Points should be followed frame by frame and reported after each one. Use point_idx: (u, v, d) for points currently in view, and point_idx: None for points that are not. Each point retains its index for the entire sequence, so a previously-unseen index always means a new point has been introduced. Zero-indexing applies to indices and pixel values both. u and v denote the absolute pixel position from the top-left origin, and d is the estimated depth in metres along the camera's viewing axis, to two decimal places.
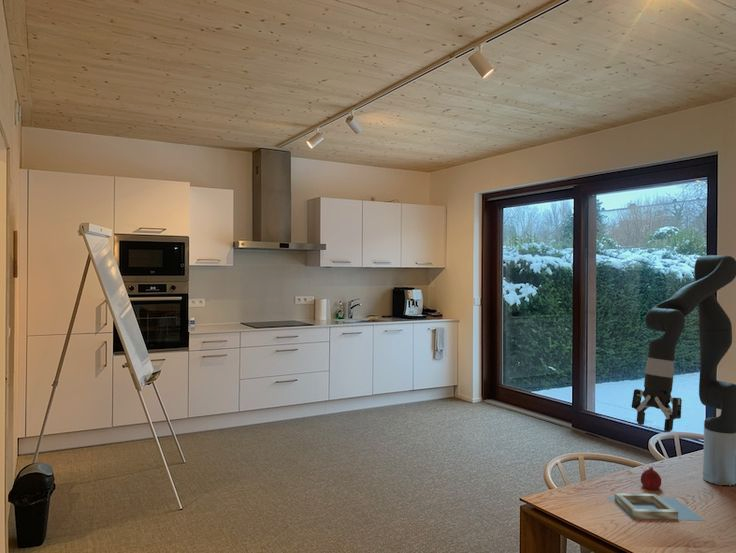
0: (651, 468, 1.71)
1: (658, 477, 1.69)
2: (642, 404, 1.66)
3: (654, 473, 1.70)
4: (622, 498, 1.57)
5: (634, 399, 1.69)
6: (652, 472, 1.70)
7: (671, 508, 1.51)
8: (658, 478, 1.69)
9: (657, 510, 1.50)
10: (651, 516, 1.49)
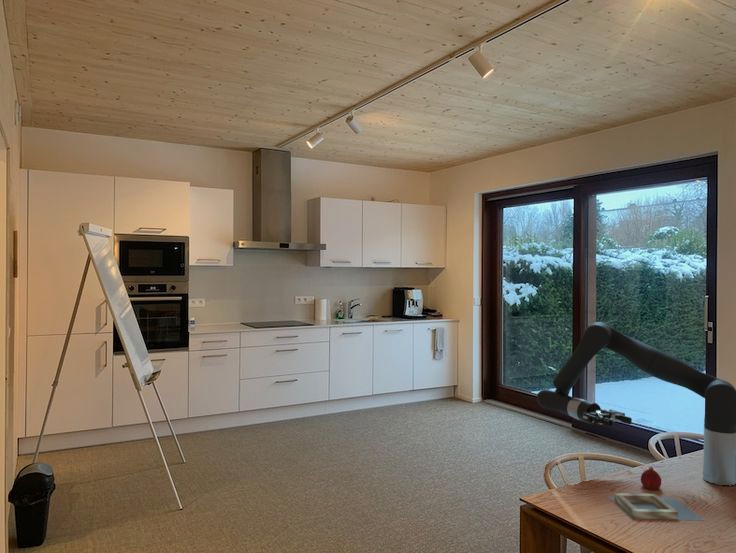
0: (651, 468, 1.71)
1: (658, 477, 1.69)
2: None
3: (654, 473, 1.70)
4: (622, 498, 1.57)
5: None
6: (652, 472, 1.70)
7: (671, 508, 1.51)
8: (658, 478, 1.69)
9: (657, 510, 1.50)
10: (651, 516, 1.49)
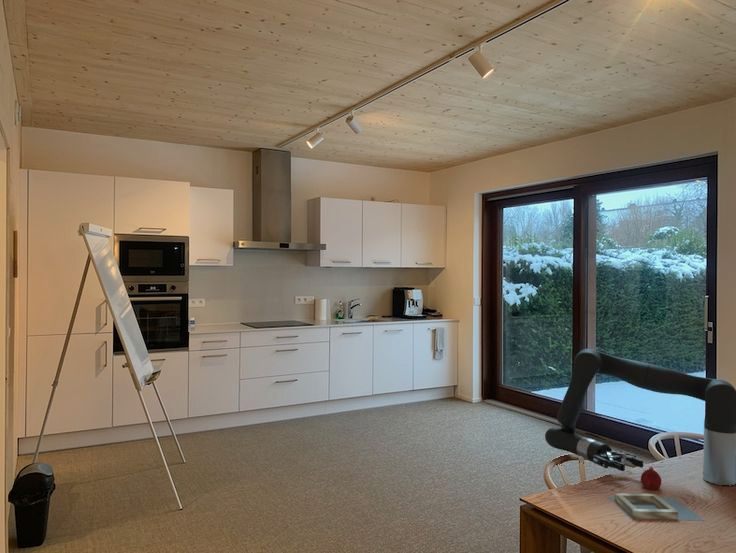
0: (651, 468, 1.71)
1: (658, 477, 1.69)
2: None
3: (654, 473, 1.70)
4: (622, 498, 1.57)
5: None
6: (652, 472, 1.70)
7: (671, 508, 1.51)
8: (658, 478, 1.69)
9: (657, 510, 1.50)
10: (651, 516, 1.49)
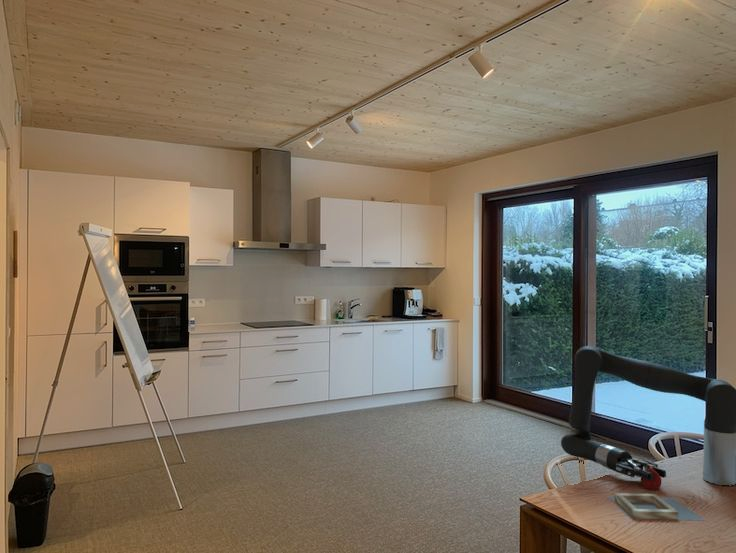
0: (651, 468, 1.71)
1: (658, 477, 1.69)
2: None
3: (654, 473, 1.70)
4: (622, 498, 1.57)
5: None
6: (653, 472, 1.70)
7: (671, 508, 1.51)
8: (658, 478, 1.69)
9: (657, 510, 1.50)
10: (651, 516, 1.49)
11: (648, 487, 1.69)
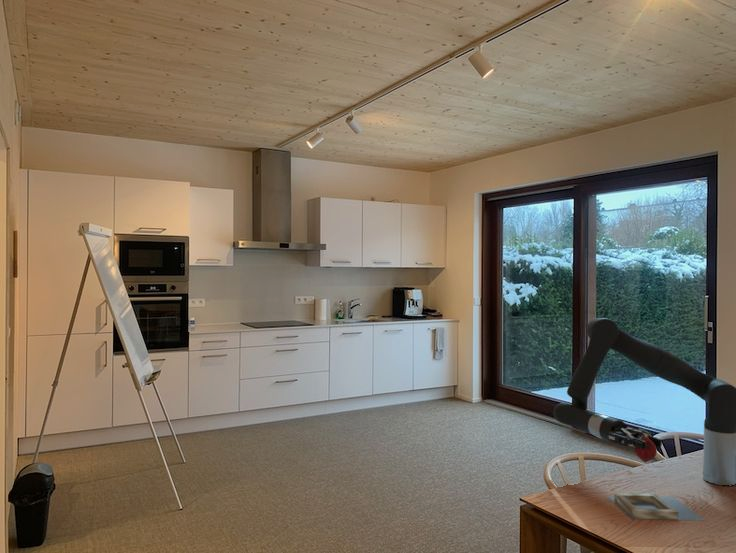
0: (646, 437, 1.61)
1: (653, 446, 1.59)
2: None
3: (649, 442, 1.60)
4: (622, 498, 1.57)
5: None
6: (647, 441, 1.60)
7: (671, 508, 1.51)
8: (653, 447, 1.59)
9: (657, 510, 1.50)
10: (651, 516, 1.49)
11: (642, 456, 1.60)
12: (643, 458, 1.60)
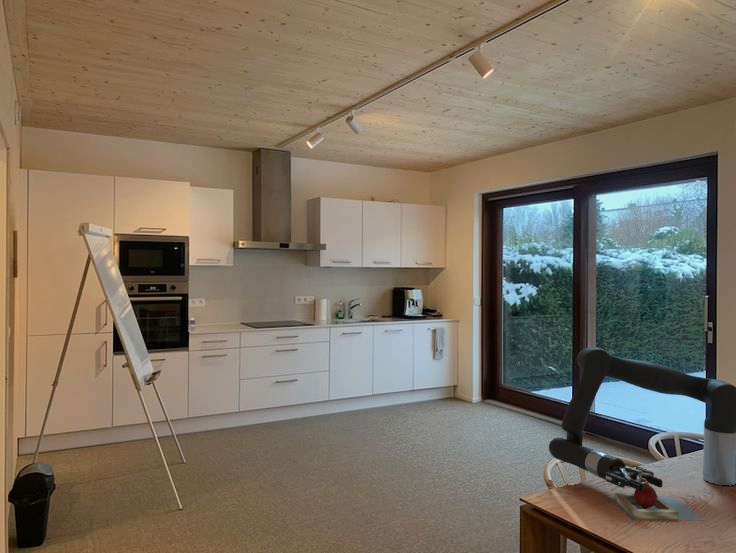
0: (646, 483, 1.55)
1: (654, 493, 1.53)
2: None
3: (649, 489, 1.53)
4: (622, 498, 1.57)
5: None
6: (648, 488, 1.54)
7: (671, 508, 1.51)
8: (653, 494, 1.53)
9: (657, 510, 1.50)
10: (651, 516, 1.49)
11: (642, 504, 1.53)
12: (643, 505, 1.54)
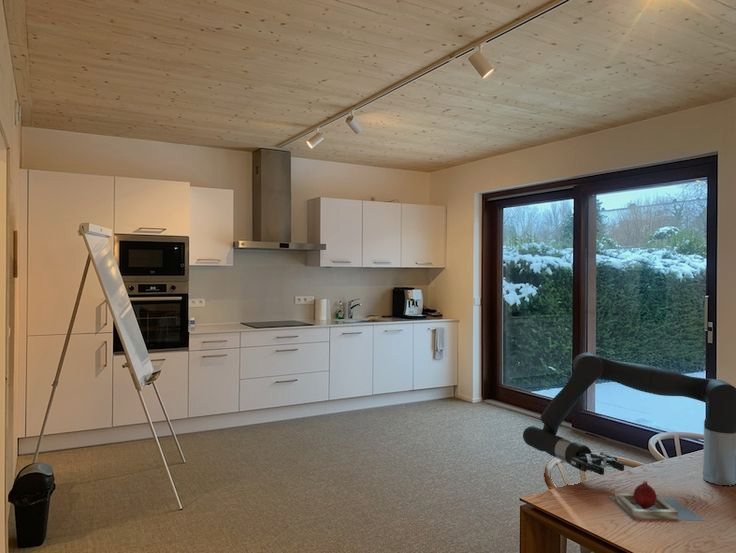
0: (645, 483, 1.55)
1: (653, 493, 1.53)
2: None
3: (648, 488, 1.54)
4: (622, 498, 1.57)
5: None
6: (647, 487, 1.54)
7: (671, 508, 1.51)
8: (653, 494, 1.53)
9: (657, 510, 1.50)
10: (651, 516, 1.49)
11: (642, 504, 1.53)
12: (642, 505, 1.54)
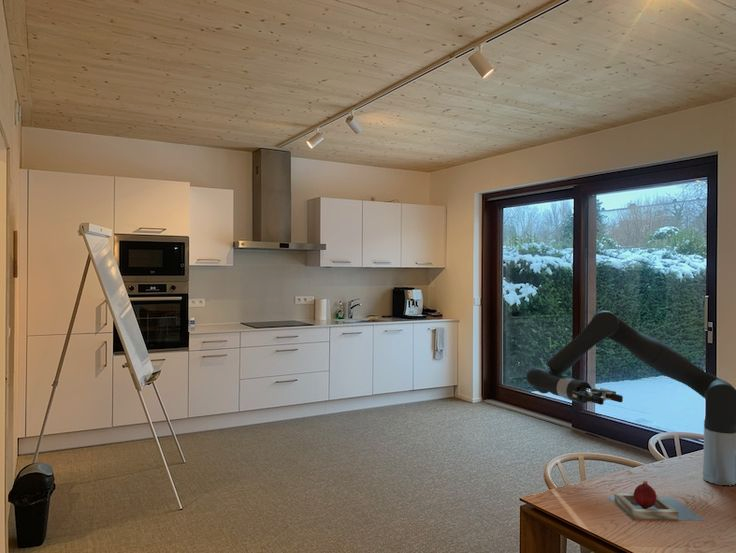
0: (645, 483, 1.55)
1: (653, 493, 1.53)
2: None
3: (648, 488, 1.54)
4: (622, 498, 1.57)
5: None
6: (647, 487, 1.54)
7: (671, 508, 1.51)
8: (653, 494, 1.53)
9: (657, 510, 1.50)
10: (651, 516, 1.49)
11: (642, 504, 1.53)
12: (643, 505, 1.54)
